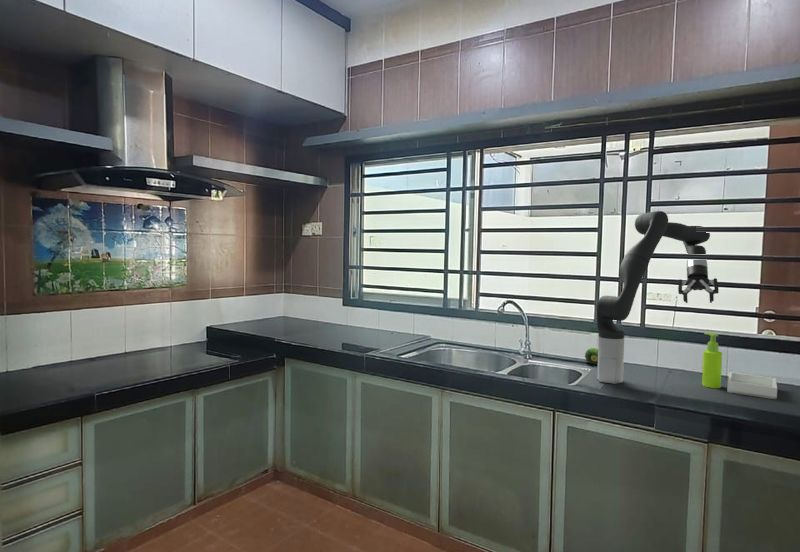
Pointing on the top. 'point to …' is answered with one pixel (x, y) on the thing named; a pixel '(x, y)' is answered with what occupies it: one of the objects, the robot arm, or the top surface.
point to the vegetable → (592, 356)
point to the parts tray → (752, 385)
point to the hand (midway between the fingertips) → (698, 302)
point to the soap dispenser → (712, 364)
